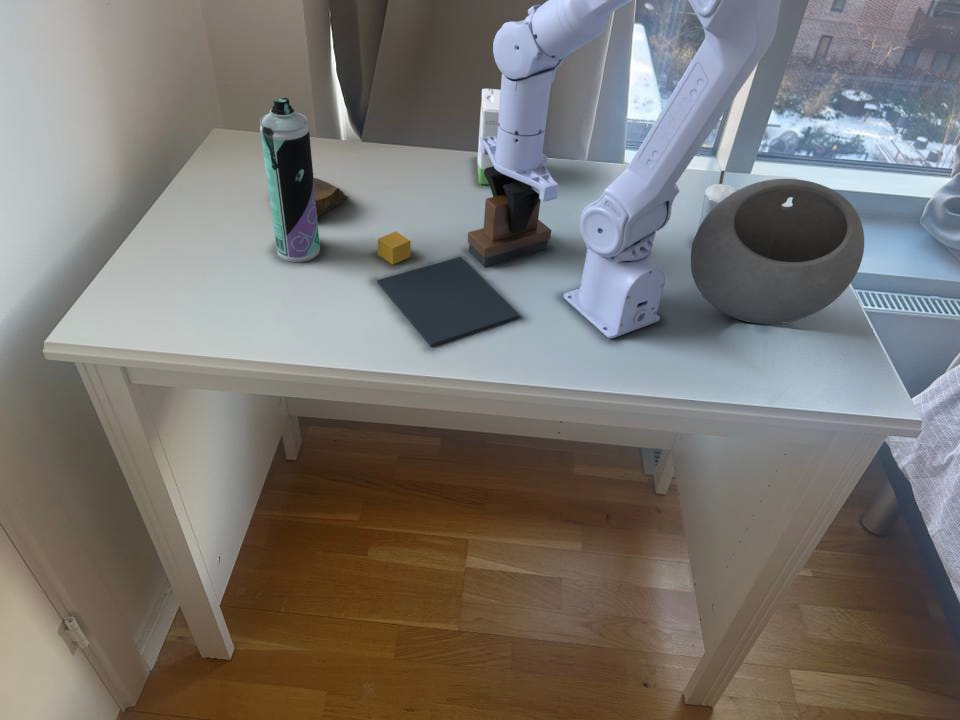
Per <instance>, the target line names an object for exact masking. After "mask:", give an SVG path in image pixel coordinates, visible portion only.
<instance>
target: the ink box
mask: <svg viewBox="0 0 960 720" xmlns="http://www.w3.org/2000/svg"><path fill="white" fill-rule="evenodd" d="M500 93H501V89H495V88H482V89H481V98H480V99H481V100H480V114H479V126H478V127H479V128H478V129H479V130H478V131H479V132H478V146H477V160H476V161H477V174H478V183H479V185H489V183H488V181H487V179H486V177H485V175H484V170H485V169H486V168H488V167H493V164H492V162H491V159H490V157H489V155H483V154H482V153H481V152H480V145H481V138H485V137H490V136H495V137H496V138H497V130H498V117H499V105H500Z"/></svg>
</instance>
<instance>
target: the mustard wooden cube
mask: <svg viewBox="0 0 960 720" xmlns="http://www.w3.org/2000/svg"><path fill="white" fill-rule="evenodd" d="M377 256H379V257H381V258H382V259H383V260H384V261H386V262H388V263H389V264H391V265H392V266H394V265H396V264H398V263H400V262H402V261H404V260H406V259H409V258H411V240H410V239H408V238H407V237H405V236H404V235H402V234H401V233H399V232H398V231H393V232H390V233H388V234H386V235H384V236H381V237H379V238H378V239H377Z"/></svg>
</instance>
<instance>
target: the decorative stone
mask: <svg viewBox="0 0 960 720" xmlns="http://www.w3.org/2000/svg"><path fill="white" fill-rule="evenodd" d="M313 178H314V189H315V200H316V211H317V218H318V217H319V216H320V215H321V214H323V213H325V212H327V211H328V210H330V209H332V208H334V207H336V206H338V205H340V204H341V203H343V202H345V201H347V200H348V198H349V196H347V194H345V192H344V191H343V190H342V189H340V188H339V187H337V186H335V185H333V184H331V183H329V182H327V181H324V180H322V179H319V178H317V177H313Z"/></svg>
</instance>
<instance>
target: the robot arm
mask: <svg viewBox="0 0 960 720" xmlns="http://www.w3.org/2000/svg"><path fill="white" fill-rule="evenodd" d="M633 1H634V0H547V1H545V2H544V3H542V5H541V4H535V5H533V6H531V7H530V8H529V9H527V16H526V17H525V19H523V20H519V21H515V20H514V21H513V20H512V21H506V22H505V23H503V24H502V26H501V28H500V29H498V30H497V32H496V34H495V36H494V38H493V45H492V52H493V58H494V61H495V64H496V66H497V68H498V70H499V71H500V73H501V82H500V90H501V93H500V105H499V117H498V130H497V138H496V137H495V136H490V137H485V138H481V145H480V152H481V153H482V154H483V155H489V157H490V159H491V162H492V164H493V167H488V168H486V169H485V170H484V175H485V177H486V179H487V181H488V183H489V184H488V185H489V188H490V191H491V195H492V197H495V196H499V195H503V194H506V196H507V200H508V206H509V229H510V232H511V233H513V234H514V233H518V232H521V231H525V229H526V227H527V224H528V222H529V219H530V217H531V215H532V213H533V211H534V209H535V207H536V205H537V204H538V202H539V201H540V200H541V201H540V202H543V203H545V202H546V203H547V202H551V201H553V200H557V199H558V193H559V187H560V185H559V183H558V182H557V181H556V180H554V178H553V177H552V175H551V173H550V171H549V170H548V168H547V166H546V165H545V164H547V163H548V159H549V157H548V156H547V155H546V154H545V153H543V150H544V143H545V135H546V127H547V120H548V119H547V118H548V111H549V104H550V95H551V90H552V89H551V87H552V83H553V82H555V77H556V73H557V70H558V68H560V67H561V65H562V64H563V62H564V61H565V59H566V57H567V56H570V55H571V54H572V53H574V52H575V51H577V50H578V49H581V48H582V47H583V46H585V45H587V44H588V43H590V42H591V41H594V40H596V38H598V37H600V36H601V35H602V34H604V33H605V32H606V31H607V28H608V26H609V23H610V17H611V16H610V15H611V14H612V13H614V12H616V11H617V10H619V9H621V8H622V7H624V6H626V5H627V4H629V3H631V2H633ZM687 1H688V3H689V5H690V6H691V9H692V10H693V12H694V13H695V15H696V17H697V19H698V21H699V22H700V25H701V26H702V28H703V31H704V36H705V37H704V39H703V41H702V43H701V45H700V47H699V48H698V50H697V51H696V53H695V55H694V56H693V58H692V60H691V61H690V63H689V64H688V66H687V68H686V70H685V72H684V73H683V75H682V77H681V78H680V80H679V81H678V82H677V85H676V86H675V88H674V90H673V92H672V93H671V94H670V96H669V97H668V99H667V101H666V103H665V104H664V106H663V107H662V109H661V111H660V113H659V115H658V116H657V117H656V119H655V121H654V123H653V124H652V125H651V128H650V129H649V131H648V133H647V135H646V136H645V138H644V140H643V141H642V142H641V144H640V146H639V147H638V150H637V151H636V153H635V155H634V156H633V158H632V159H631V161H630V163H629V164H628V165H627V168H626V169H625V170H624V171H623V172H622V173H621V174H620V175H618V177H617V178H615V179H614V180H613V181H611V183H610V184H609V185H608V186H607V187H606V188H605V189H604V190H603V192H602V194H601V195H600V196H599V198H598V199H596V200H594V201H593V202H591V203H589V204H588V205H586V206H585V207H584V208H583V210H582V211H581V214H580V217H579V231H580V234H581V237H582V239H583V242H584V243H585V247H586V255H585V260H584V265H583V270H582V276H581V281H580V287H579V288H576V289H573V290H571V291H568V292H564V293H563V296H562V297H563V299H564V300H565V301H567V303H569V304H570V305H571V306H572V307H573V308H574V310H576V311H578V313H580V315H582V316H583V317H584V318H586V320H587V321H589V322H590V323H591V324H592V325H593V326H594V327H595V328H597V330H599V331H600V332H601V333H602V334H603V335H604V336H605V337H606V338H608V339H614V338H617V337H620V336H623V335H625V334H628V333H631V332H633V331H637V330H639V329H642V328H644V327H647V326H649V325H652V324H656V323H658V322H660V319H661V317H660V316H659V314H657V313H658V310H659V307H660V303H661V300H662V295H663V293H664V290H665V289H664V288H665V286H666V275H665V272H664V271H663V269H662V268H661V267H660V266H659V264H657V262H656V260H655V258H654V256H653V251H652V248H653V245H654V241H655V237H656V233H657V232H658V231H660V230H662V229H663V228H664V227H665V226H666V225H667V224H668V222H669V221H670V219H671V216H672V207H673V203H674V201H675V199H676V197H677V196H678V194H679V192H680V189H679V187H678V185H677V183H678V181H679V180H680V178H681V177H682V175H683V174H684V172H685V171H686V170H687V168H688V166H689V165H690V164H691V162H692V161H693V159H694V158H695V156H696V155H697V153H698V152H699V151H700V149H701V148H702V146H703V145H704V143H705V142H706V140H707V139H708V138H709V136H710V134H711V133H712V132H713V130H714V129H715V127H716V126H717V124H718V123H719V121H720V120H721V119H722V117H723V115H725V112H726V111H727V109H728V108H729V107H730V106H731V104H732V102H733V101H734V100H735V98H736V97H737V95H738V94H739V92H740V91H741V89H742V88H743V86H744V85H745V84H746V82H747V81H748V79H749V77H750V76H751V74H752V73H753V72H754V71H755V69H756V68H757V66H758V65H759V64H760V61H761V60H762V59H763V57H764V56H765V54H766V53H767V52H768V50H769V49H770V47H771V45H772V43H773V41H774V39H775V37H776V33H777V28H778V21H779V17H780V10H781V5H782V0H687Z"/></svg>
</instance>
